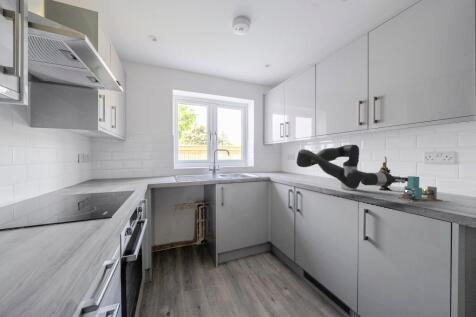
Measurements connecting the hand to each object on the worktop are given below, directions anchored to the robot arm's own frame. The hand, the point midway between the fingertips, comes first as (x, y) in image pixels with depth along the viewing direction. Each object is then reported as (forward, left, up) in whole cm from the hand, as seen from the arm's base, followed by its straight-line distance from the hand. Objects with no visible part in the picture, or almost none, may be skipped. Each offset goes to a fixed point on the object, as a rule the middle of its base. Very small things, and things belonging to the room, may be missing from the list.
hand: (407, 179), depth 110 cm
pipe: (+3, +8, -12) cm, 15 cm away
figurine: (-23, +26, -12) cm, 37 cm away
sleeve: (+1, +4, -12) cm, 13 cm away
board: (+3, +8, -12) cm, 15 cm away
